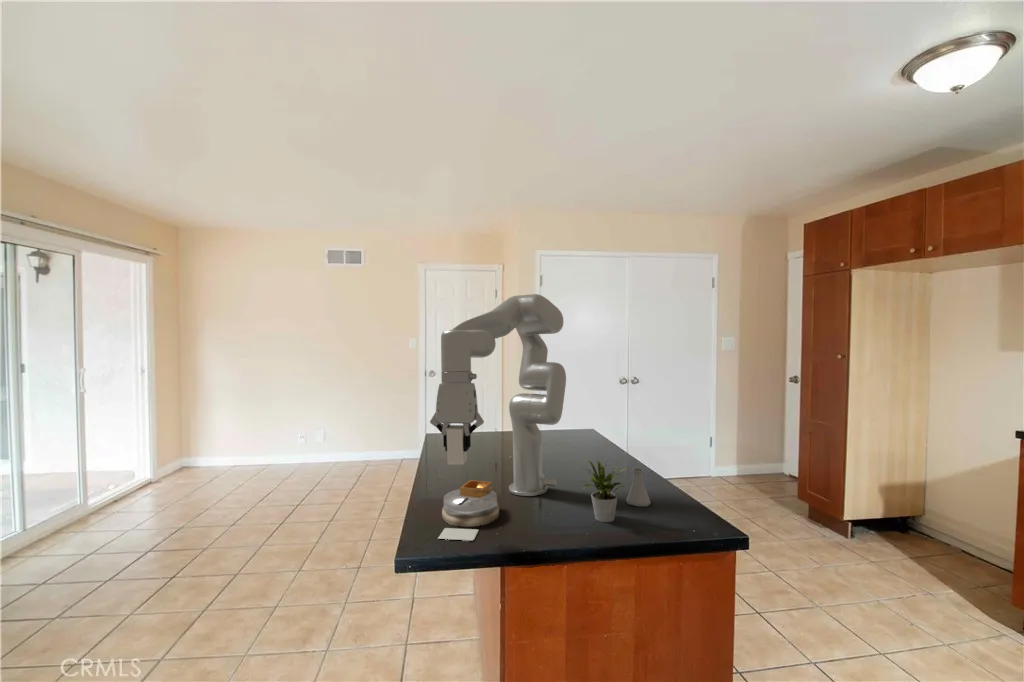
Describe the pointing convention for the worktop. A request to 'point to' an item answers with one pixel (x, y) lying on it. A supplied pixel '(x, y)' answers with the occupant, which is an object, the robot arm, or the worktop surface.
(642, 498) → the flask
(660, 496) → the worktop surface
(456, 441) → the white rectangular block
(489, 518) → the base
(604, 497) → the house plant
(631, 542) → the worktop surface
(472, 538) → the mat
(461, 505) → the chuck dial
